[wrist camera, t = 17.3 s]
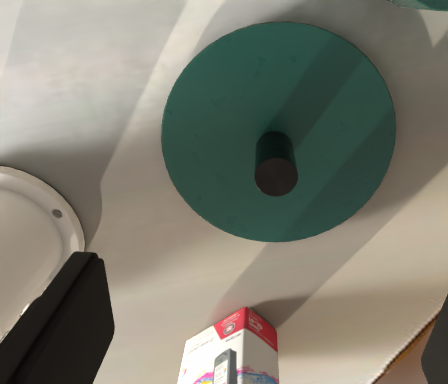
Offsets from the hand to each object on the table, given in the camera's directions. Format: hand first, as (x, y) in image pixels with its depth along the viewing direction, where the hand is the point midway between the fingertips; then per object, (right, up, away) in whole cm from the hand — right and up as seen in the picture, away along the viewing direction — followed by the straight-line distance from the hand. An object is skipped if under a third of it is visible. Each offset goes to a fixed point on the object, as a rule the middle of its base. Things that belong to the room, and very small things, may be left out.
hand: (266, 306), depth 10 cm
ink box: (0, -11, +27) cm, 30 cm away
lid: (+2, +6, +16) cm, 18 cm away
